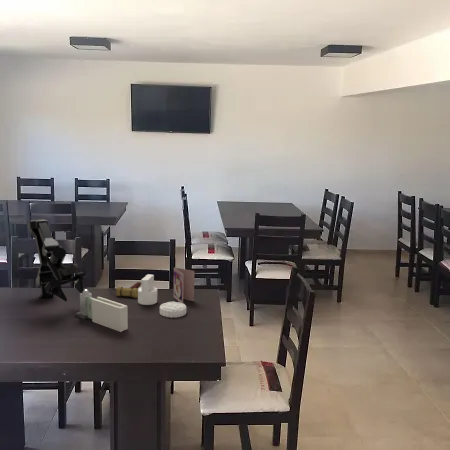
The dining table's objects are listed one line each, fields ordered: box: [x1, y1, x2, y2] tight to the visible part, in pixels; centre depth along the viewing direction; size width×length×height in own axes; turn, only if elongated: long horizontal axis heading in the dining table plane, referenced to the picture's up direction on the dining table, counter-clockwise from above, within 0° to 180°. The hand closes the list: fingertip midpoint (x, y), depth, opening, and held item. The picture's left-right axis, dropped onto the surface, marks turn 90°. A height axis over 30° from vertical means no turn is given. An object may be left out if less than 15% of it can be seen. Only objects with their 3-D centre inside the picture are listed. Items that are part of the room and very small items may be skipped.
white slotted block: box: [91, 296, 129, 333], centre depth 209 cm, size 17×4×10 cm, turn 55°
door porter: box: [75, 289, 93, 320], centre depth 218 cm, size 6×5×12 cm
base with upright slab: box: [137, 273, 158, 306], centre depth 237 cm, size 9×9×12 cm
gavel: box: [115, 281, 141, 299], centre depth 253 cm, size 21×5×10 cm
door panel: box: [87, 296, 107, 320], centre depth 213 cm, size 12×1×9 cm, turn 55°
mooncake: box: [159, 301, 187, 319], centre depth 226 cm, size 12×12×4 cm
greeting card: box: [172, 267, 195, 304], centre depth 241 cm, size 11×7×15 cm, turn 28°
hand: (75, 297), depth 221 cm, fingers open, 9 cm apart
